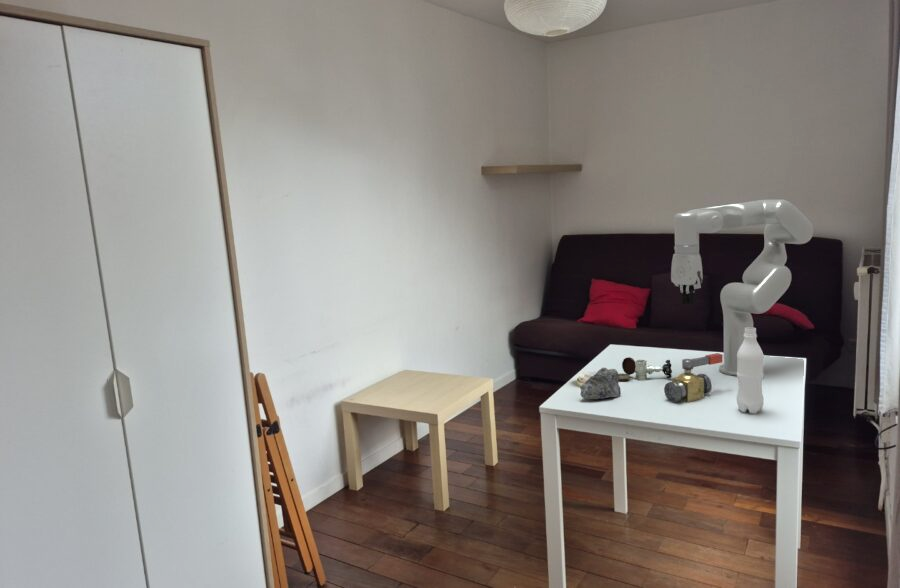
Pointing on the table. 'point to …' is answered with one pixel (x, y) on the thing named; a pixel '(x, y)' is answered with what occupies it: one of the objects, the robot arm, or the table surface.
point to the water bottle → (750, 373)
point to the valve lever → (702, 361)
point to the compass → (627, 369)
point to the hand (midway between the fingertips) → (687, 304)
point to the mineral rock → (601, 385)
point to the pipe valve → (687, 387)
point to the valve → (650, 369)
